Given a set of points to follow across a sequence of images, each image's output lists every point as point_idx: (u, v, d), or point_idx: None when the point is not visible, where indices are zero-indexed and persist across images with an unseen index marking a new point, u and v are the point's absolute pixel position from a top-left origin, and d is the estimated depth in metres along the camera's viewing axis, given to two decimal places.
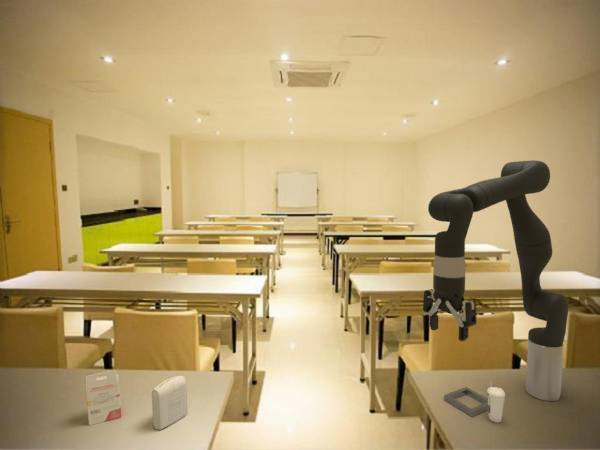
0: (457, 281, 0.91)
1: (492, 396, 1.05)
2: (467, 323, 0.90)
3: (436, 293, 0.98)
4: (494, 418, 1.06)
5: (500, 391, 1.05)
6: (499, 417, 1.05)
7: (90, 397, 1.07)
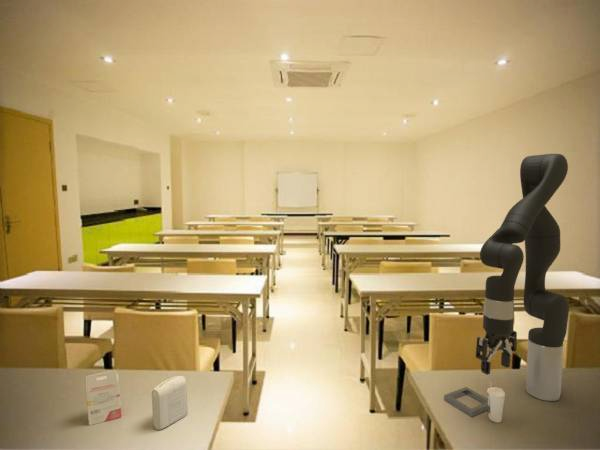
0: None
1: (492, 396, 1.05)
2: (515, 349, 1.07)
3: (494, 337, 1.03)
4: (494, 418, 1.06)
5: (500, 391, 1.05)
6: (499, 417, 1.05)
7: (90, 397, 1.07)
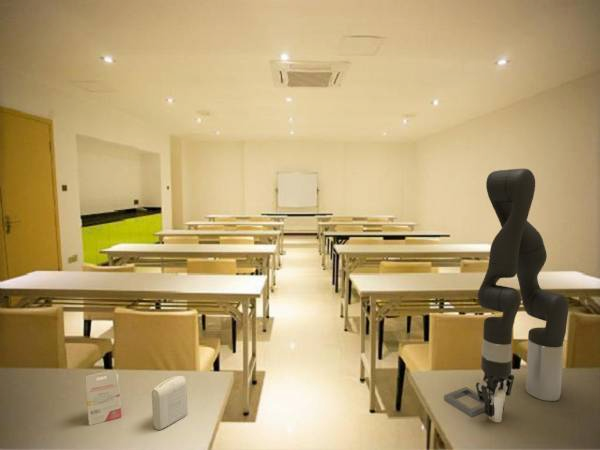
0: None
1: None
2: (508, 393, 1.08)
3: (491, 379, 1.04)
4: (494, 418, 1.06)
5: (500, 391, 1.05)
6: (499, 417, 1.05)
7: (90, 397, 1.07)
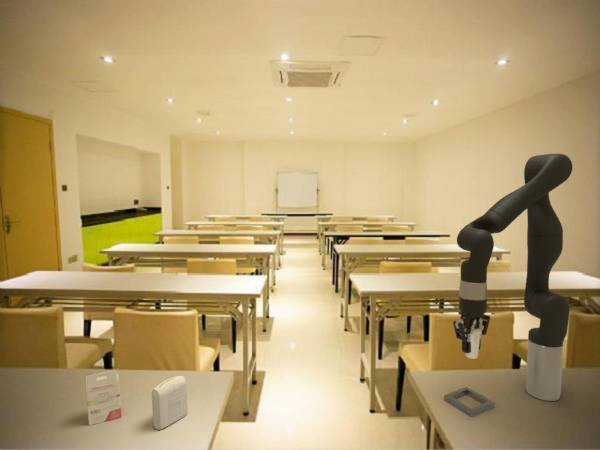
0: None
1: None
2: (485, 332, 1.14)
3: (468, 317, 1.10)
4: (471, 355, 1.12)
5: (476, 329, 1.11)
6: (475, 353, 1.11)
7: (90, 397, 1.07)
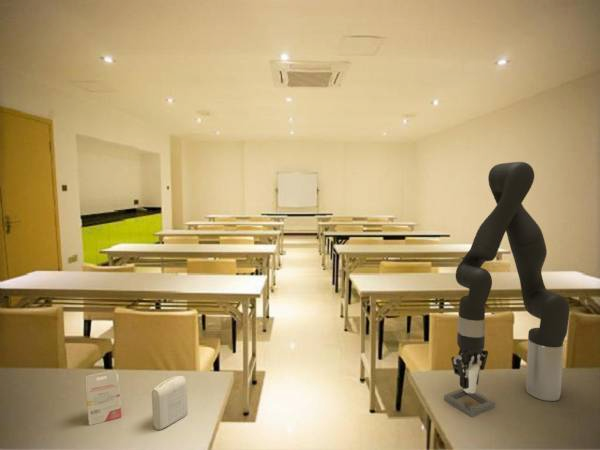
0: None
1: None
2: (482, 367, 1.15)
3: (466, 353, 1.11)
4: (468, 390, 1.13)
5: (474, 364, 1.13)
6: (473, 389, 1.13)
7: (90, 397, 1.07)
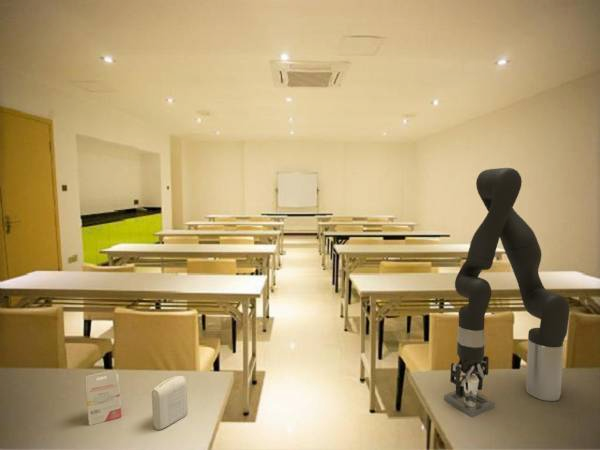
0: None
1: (467, 382, 1.13)
2: (486, 372, 1.16)
3: (466, 363, 1.11)
4: (468, 403, 1.13)
5: (474, 377, 1.13)
6: (473, 402, 1.13)
7: (90, 397, 1.07)
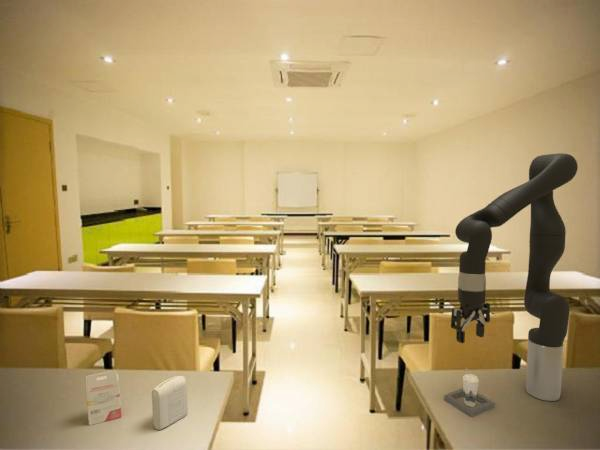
0: None
1: (467, 382, 1.13)
2: (488, 319, 1.15)
3: (467, 308, 1.10)
4: (468, 403, 1.13)
5: (474, 377, 1.13)
6: (473, 402, 1.13)
7: (90, 397, 1.07)
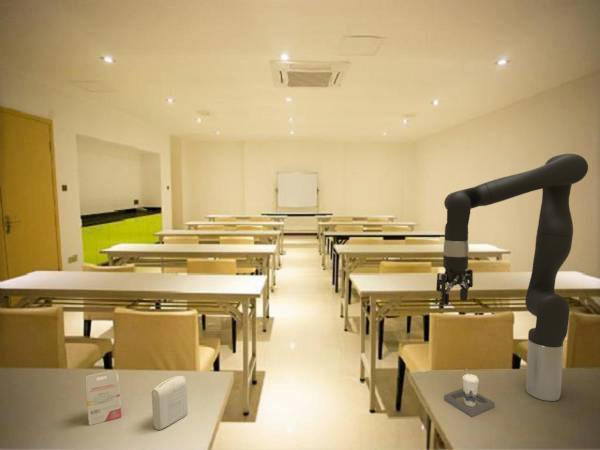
0: None
1: (467, 382, 1.13)
2: (471, 285, 1.25)
3: (451, 273, 1.20)
4: (468, 403, 1.13)
5: (474, 377, 1.13)
6: (473, 402, 1.13)
7: (90, 397, 1.07)
